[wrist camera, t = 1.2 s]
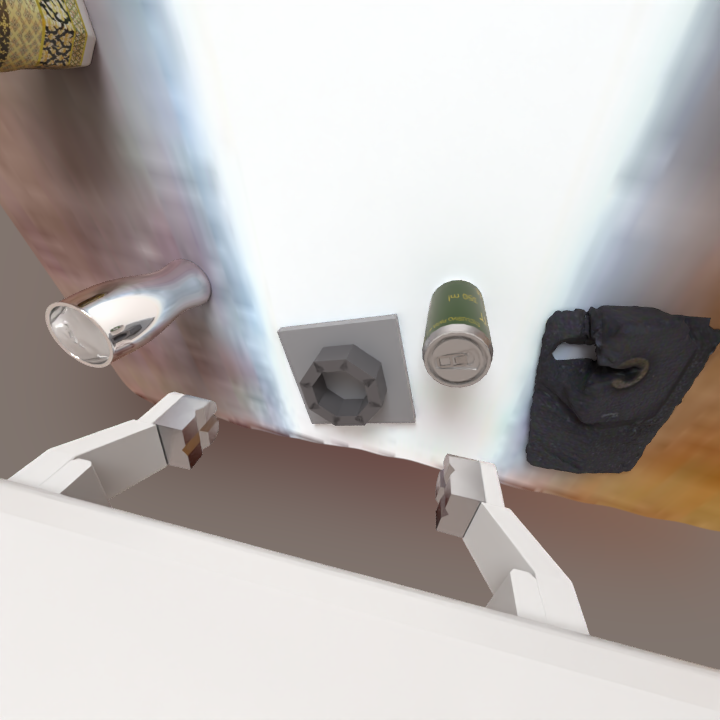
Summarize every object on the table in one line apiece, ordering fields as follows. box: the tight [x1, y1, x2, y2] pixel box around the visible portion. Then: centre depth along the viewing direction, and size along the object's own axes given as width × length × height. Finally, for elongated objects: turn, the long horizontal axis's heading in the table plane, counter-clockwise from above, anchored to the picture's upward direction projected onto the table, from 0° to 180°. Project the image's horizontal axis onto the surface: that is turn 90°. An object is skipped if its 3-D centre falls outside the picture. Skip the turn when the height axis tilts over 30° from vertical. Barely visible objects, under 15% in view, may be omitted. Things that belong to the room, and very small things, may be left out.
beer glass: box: [45, 259, 211, 367], centre depth 36 cm, size 7×7×15 cm
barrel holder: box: [277, 314, 416, 426], centre depth 41 cm, size 15×15×5 cm
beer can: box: [422, 280, 493, 387], centre depth 30 cm, size 5×5×12 cm
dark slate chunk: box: [526, 306, 720, 474], centre depth 35 cm, size 15×22×5 cm
